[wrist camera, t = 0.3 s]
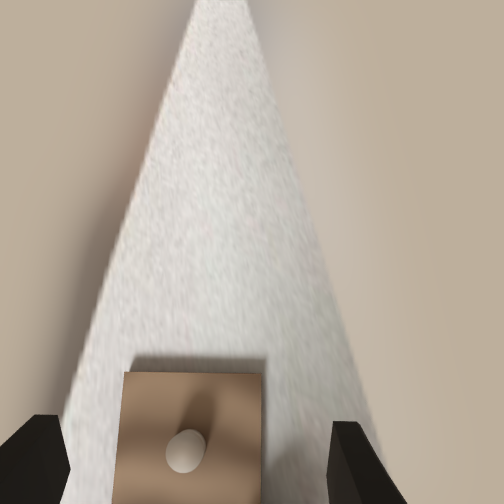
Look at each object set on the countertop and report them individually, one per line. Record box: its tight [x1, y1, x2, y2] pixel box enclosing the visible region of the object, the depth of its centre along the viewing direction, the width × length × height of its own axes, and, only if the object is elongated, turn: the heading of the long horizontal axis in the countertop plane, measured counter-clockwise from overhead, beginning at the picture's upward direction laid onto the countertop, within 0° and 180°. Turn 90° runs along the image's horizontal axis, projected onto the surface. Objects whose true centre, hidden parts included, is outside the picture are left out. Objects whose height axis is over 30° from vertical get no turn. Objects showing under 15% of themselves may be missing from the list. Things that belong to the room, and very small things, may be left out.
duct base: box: [112, 372, 261, 504], centre depth 35 cm, size 12×12×5 cm
